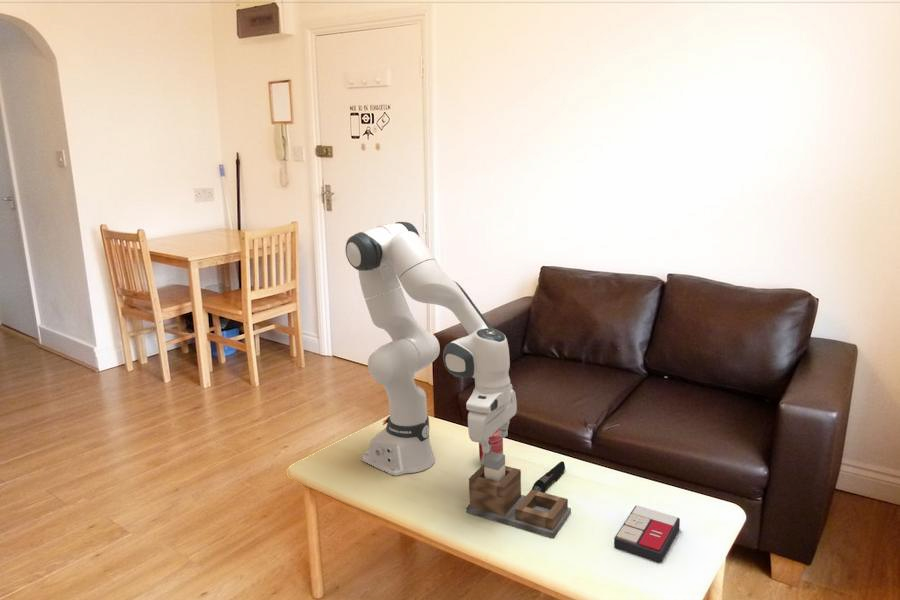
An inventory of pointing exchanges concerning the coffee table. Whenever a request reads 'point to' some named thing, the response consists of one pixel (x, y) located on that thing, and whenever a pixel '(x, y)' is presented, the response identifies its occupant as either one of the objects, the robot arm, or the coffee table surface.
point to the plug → (494, 466)
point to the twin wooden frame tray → (516, 503)
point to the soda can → (492, 446)
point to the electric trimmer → (549, 477)
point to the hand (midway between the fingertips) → (495, 443)
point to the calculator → (647, 533)
